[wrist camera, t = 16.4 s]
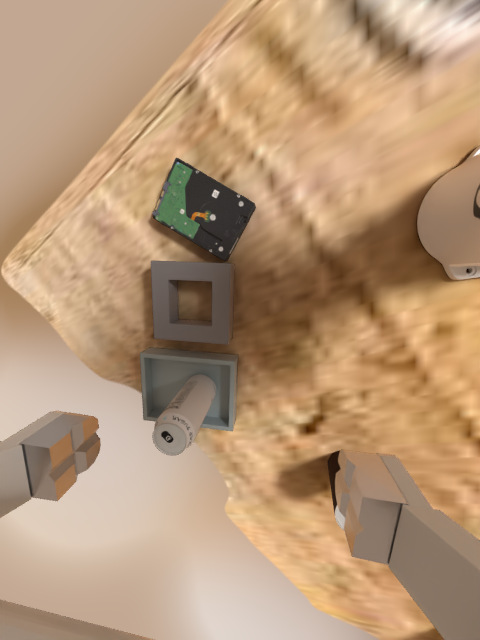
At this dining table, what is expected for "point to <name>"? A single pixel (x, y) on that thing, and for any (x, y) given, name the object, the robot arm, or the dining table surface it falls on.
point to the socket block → (167, 301)
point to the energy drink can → (184, 415)
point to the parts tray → (176, 369)
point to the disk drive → (203, 210)
